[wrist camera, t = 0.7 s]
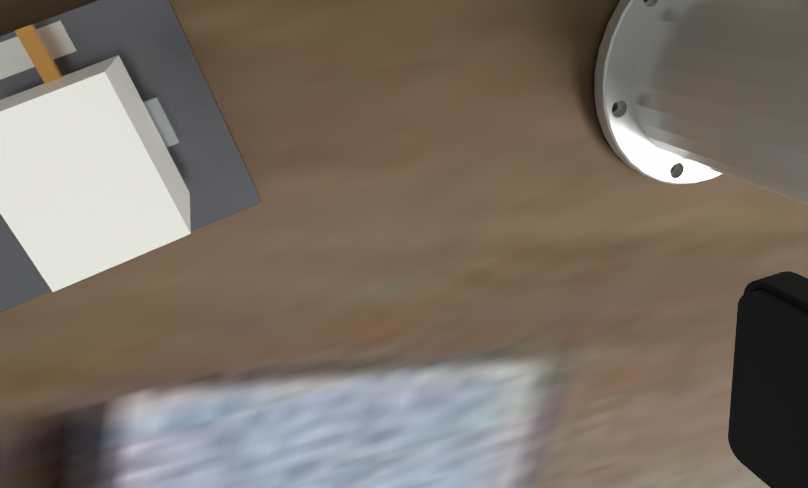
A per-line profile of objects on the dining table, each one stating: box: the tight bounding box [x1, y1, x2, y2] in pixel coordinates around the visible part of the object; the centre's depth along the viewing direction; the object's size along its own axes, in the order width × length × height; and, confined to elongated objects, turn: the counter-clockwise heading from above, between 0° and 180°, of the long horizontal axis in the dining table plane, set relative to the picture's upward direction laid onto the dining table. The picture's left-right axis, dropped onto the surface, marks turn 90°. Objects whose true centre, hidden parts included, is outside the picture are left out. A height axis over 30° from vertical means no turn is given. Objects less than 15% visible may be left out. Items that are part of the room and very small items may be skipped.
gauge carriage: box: [0, 24, 191, 292], centre depth 24 cm, size 5×8×5 cm, turn 19°
